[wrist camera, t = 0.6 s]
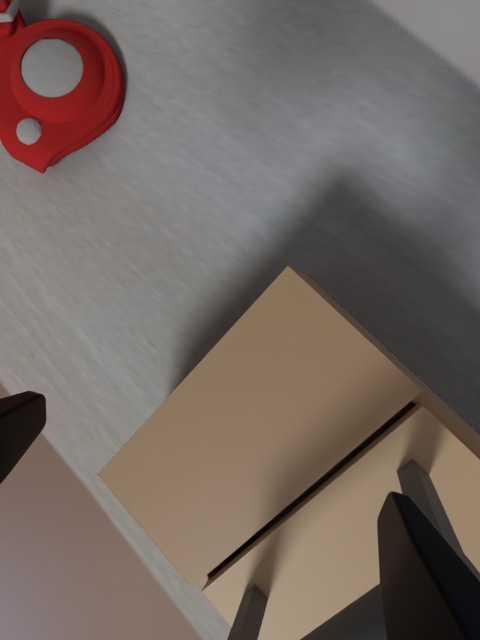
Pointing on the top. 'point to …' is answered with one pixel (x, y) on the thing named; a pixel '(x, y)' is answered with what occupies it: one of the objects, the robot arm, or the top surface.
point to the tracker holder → (54, 87)
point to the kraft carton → (263, 426)
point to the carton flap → (350, 539)
